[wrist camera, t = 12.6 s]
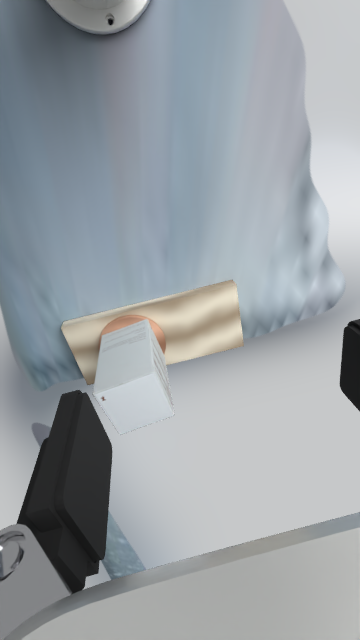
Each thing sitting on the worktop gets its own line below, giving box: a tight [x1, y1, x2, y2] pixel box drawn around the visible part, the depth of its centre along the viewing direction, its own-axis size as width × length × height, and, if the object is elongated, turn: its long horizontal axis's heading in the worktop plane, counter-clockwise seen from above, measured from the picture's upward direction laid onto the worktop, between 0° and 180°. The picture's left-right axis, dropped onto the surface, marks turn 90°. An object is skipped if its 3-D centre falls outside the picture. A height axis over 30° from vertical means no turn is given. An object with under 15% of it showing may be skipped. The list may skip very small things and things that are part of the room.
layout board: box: [61, 280, 244, 385], centre depth 47 cm, size 11×26×3 cm, turn 102°
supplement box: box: [93, 319, 175, 435], centre depth 39 cm, size 7×7×13 cm
